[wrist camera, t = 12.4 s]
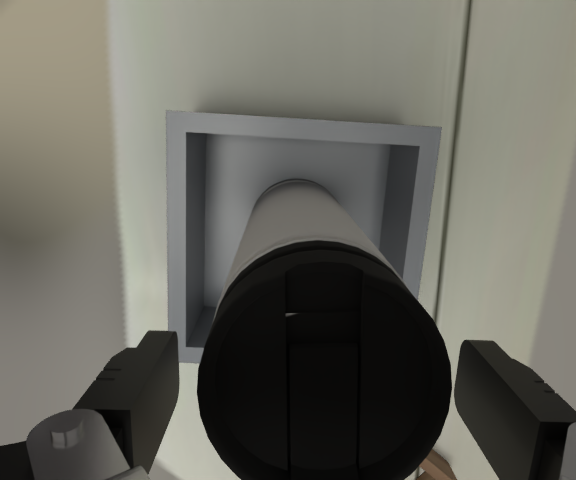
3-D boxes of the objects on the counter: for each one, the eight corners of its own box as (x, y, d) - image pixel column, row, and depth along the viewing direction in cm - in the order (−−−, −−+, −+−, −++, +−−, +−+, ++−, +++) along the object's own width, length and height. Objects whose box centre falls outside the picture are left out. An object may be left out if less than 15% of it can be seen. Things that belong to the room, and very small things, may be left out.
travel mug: (251, 273, 30) (198, 534, 10) (248, 178, 28) (178, 277, 9) (341, 272, 30) (453, 528, 11) (343, 177, 28) (479, 273, 9)
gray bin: (193, 116, 28) (166, 110, 21) (403, 128, 29) (441, 127, 22) (192, 313, 32) (168, 362, 25) (380, 321, 32) (407, 372, 25)
